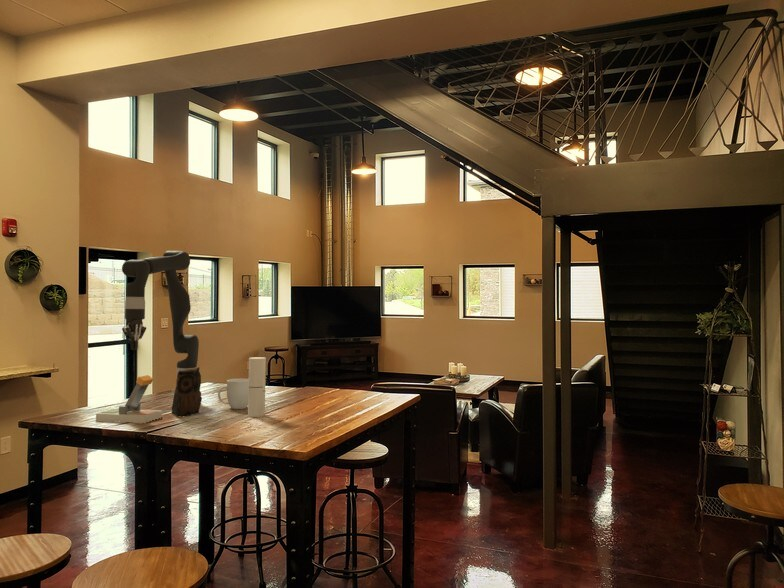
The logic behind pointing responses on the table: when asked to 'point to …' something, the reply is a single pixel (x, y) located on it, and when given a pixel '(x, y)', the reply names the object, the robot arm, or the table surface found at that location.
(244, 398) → the mug
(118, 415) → the switch panel
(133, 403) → the lever
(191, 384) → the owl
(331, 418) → the table surface
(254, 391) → the white tall block
